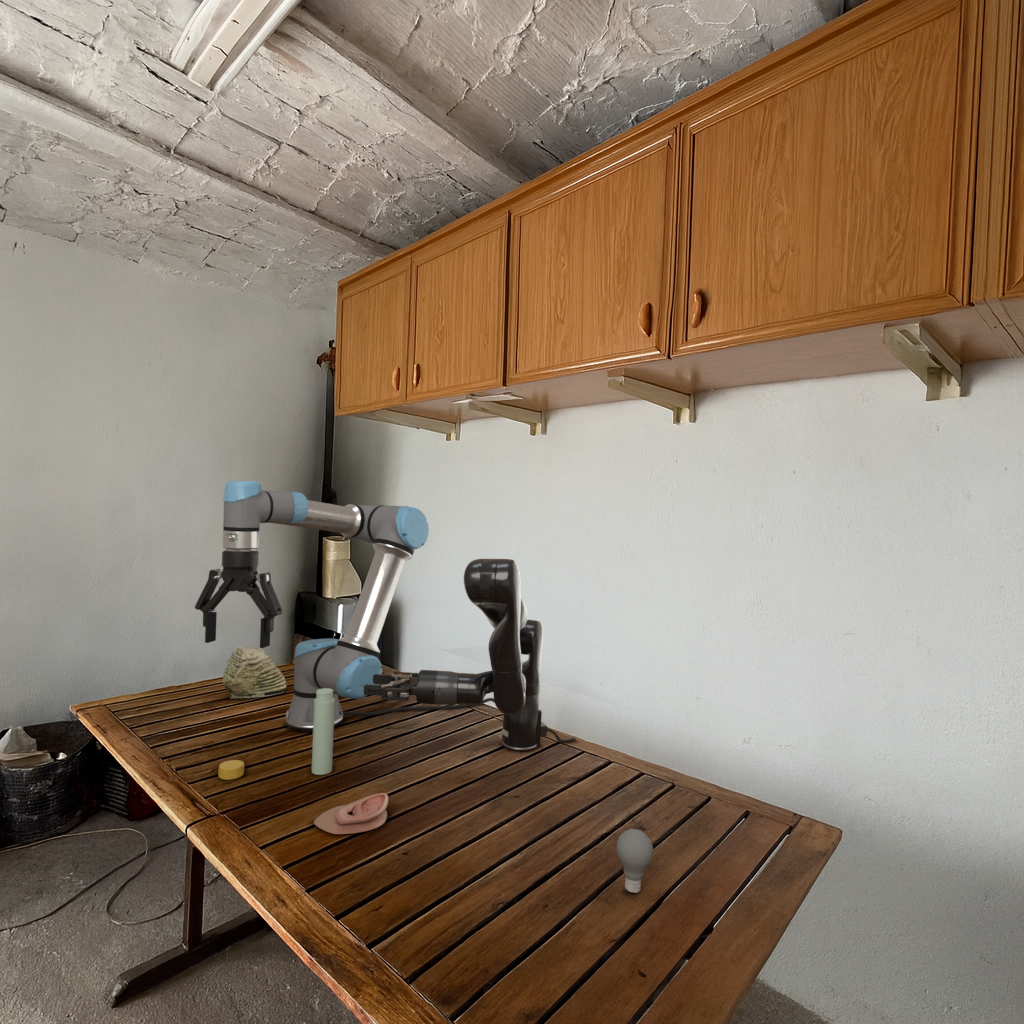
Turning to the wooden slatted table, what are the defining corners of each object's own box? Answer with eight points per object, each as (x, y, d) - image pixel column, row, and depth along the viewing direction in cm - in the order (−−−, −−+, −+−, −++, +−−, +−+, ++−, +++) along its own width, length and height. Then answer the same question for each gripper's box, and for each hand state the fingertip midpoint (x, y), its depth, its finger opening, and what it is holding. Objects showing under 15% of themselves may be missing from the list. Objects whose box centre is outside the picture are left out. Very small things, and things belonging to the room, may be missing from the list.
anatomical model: (306, 809, 120) (334, 783, 131) (305, 829, 120) (334, 802, 131) (371, 819, 117) (395, 791, 129) (370, 840, 117) (394, 811, 129)
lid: (248, 773, 143) (249, 763, 143) (227, 782, 139) (227, 771, 139) (235, 767, 146) (235, 757, 146) (213, 775, 142) (213, 765, 141)
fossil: (218, 695, 195) (220, 647, 195) (278, 685, 208) (279, 640, 207) (228, 703, 189) (230, 653, 188) (289, 692, 201) (290, 645, 201)
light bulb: (610, 879, 108) (613, 822, 108) (644, 879, 109) (647, 822, 109) (619, 902, 102) (622, 840, 102) (655, 901, 103) (658, 840, 103)
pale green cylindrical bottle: (310, 767, 148) (313, 688, 147) (330, 765, 149) (334, 687, 149) (312, 775, 143) (315, 694, 143) (332, 773, 145) (336, 692, 145)
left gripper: (179, 547, 140) (176, 642, 141) (282, 554, 136) (278, 652, 136) (202, 545, 148) (199, 636, 148) (300, 551, 143) (297, 645, 143)
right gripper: (443, 663, 153) (376, 660, 153) (435, 679, 138) (361, 676, 139) (442, 694, 153) (375, 691, 153) (433, 714, 138) (360, 710, 139)
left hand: (237, 644), depth 142 cm, fingers open, 13 cm apart
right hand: (368, 684), depth 146 cm, fingers open, 8 cm apart
